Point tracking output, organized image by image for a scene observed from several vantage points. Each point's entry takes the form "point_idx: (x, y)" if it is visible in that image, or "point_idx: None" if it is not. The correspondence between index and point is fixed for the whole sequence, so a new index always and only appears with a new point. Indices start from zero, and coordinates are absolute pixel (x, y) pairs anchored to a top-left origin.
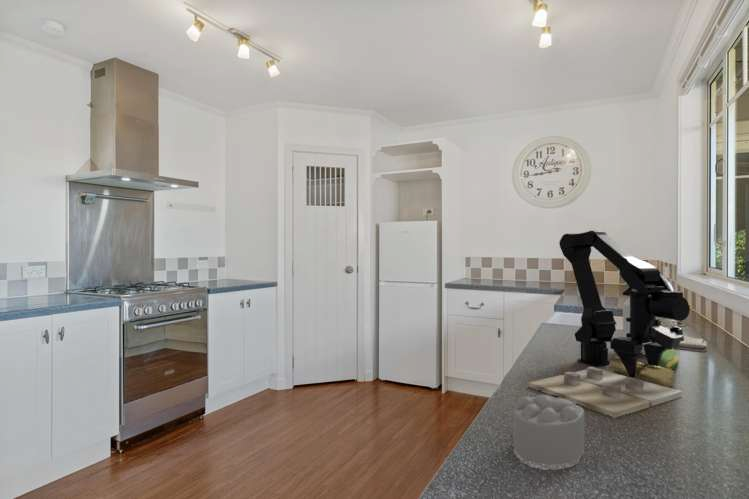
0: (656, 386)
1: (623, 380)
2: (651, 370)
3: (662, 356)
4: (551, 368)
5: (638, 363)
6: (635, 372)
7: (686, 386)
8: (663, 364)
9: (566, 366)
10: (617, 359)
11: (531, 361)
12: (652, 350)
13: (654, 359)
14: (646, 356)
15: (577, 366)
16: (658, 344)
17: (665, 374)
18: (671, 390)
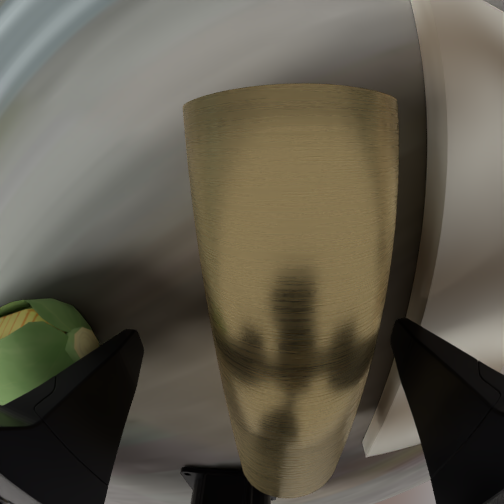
0: (483, 117)
1: (496, 298)
2: (385, 270)
3: (4, 385)
4: (415, 466)
5: (328, 416)
6: (419, 335)
7: (146, 70)
8: (45, 337)
9: (361, 477)
10: (320, 480)
11: (381, 496)
12: (68, 472)
13: (93, 403)
14: (117, 449)
15: (332, 476)
16: (4, 494)
17: (396, 100)
18: (468, 24)
